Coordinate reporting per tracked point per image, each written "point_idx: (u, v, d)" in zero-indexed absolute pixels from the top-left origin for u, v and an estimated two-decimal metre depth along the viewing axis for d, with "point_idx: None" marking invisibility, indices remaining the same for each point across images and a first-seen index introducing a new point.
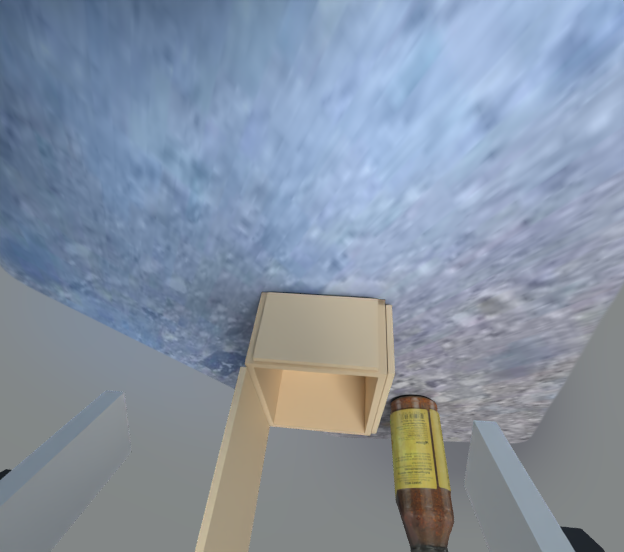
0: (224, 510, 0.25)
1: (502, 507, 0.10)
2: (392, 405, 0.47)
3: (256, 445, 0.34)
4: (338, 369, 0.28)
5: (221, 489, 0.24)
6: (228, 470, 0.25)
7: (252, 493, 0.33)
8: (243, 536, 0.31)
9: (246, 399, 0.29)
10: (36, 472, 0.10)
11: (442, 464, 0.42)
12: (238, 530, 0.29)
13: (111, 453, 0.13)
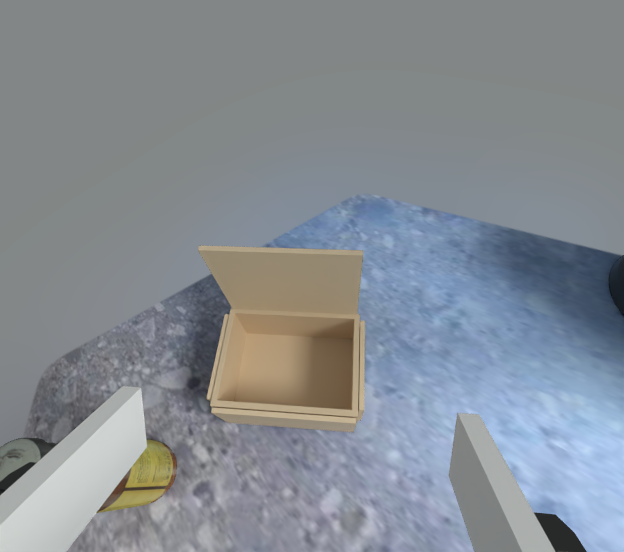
0: (330, 271, 0.33)
1: (481, 495, 0.11)
2: (163, 444, 0.41)
3: (270, 297, 0.39)
4: (358, 379, 0.38)
5: (352, 277, 0.34)
6: (344, 283, 0.35)
7: (243, 280, 0.36)
8: (240, 263, 0.33)
9: (338, 306, 0.40)
10: (61, 464, 0.10)
11: (128, 501, 0.33)
12: (267, 265, 0.33)
13: (128, 447, 0.14)
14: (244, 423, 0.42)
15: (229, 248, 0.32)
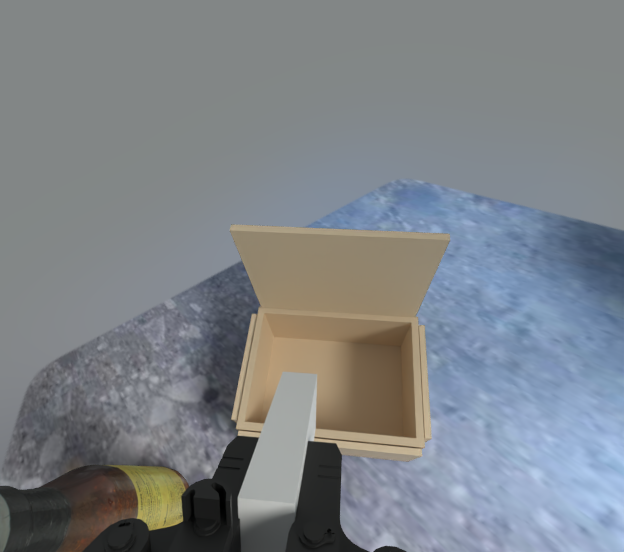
0: (398, 261, 0.26)
1: None
2: (175, 471, 0.34)
3: (311, 294, 0.32)
4: (421, 398, 0.30)
5: (425, 270, 0.26)
6: (412, 278, 0.28)
7: (282, 272, 0.29)
8: (282, 249, 0.26)
9: (394, 307, 0.32)
10: (282, 435, 0.12)
11: None
12: (317, 252, 0.26)
13: None
14: None
15: (270, 228, 0.24)
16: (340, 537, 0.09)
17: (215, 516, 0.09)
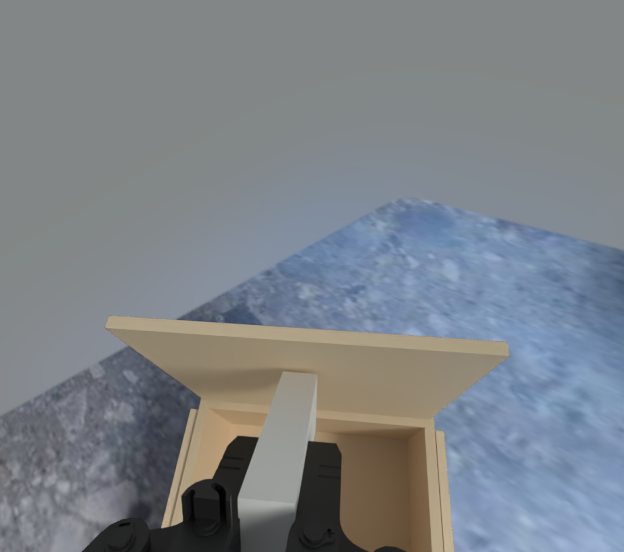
0: (410, 373, 0.15)
1: None
2: None
3: (273, 394, 0.21)
4: None
5: (455, 383, 0.15)
6: (430, 389, 0.17)
7: (218, 374, 0.18)
8: (208, 352, 0.15)
9: (400, 411, 0.21)
10: (282, 435, 0.12)
11: None
12: (269, 358, 0.15)
13: None
14: None
15: (178, 325, 0.13)
16: (340, 537, 0.09)
17: (215, 516, 0.09)
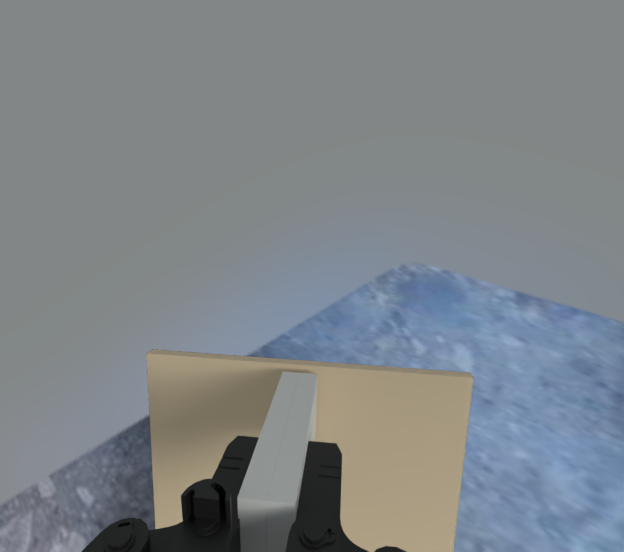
0: (400, 432, 0.16)
1: None
2: None
3: None
4: None
5: (446, 455, 0.16)
6: (426, 479, 0.16)
7: (210, 462, 0.17)
8: (218, 399, 0.17)
9: None
10: (282, 435, 0.12)
11: None
12: None
13: None
14: None
15: (207, 355, 0.17)
16: (340, 537, 0.09)
17: (214, 516, 0.09)
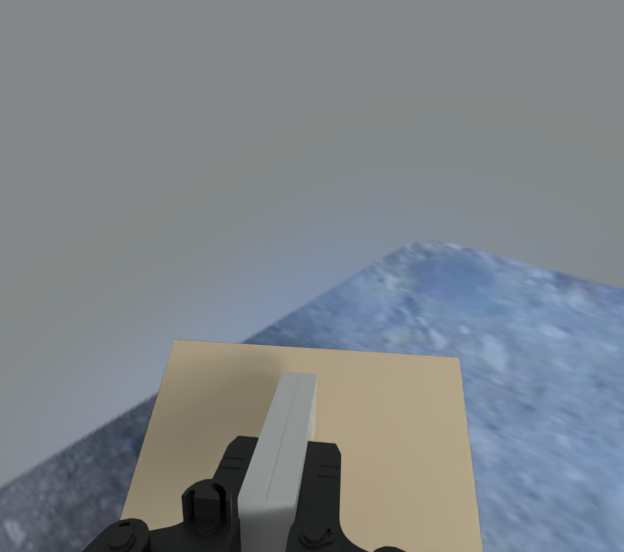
0: (402, 413, 0.16)
1: None
2: None
3: None
4: None
5: (451, 439, 0.16)
6: (436, 470, 0.15)
7: (203, 455, 0.16)
8: (228, 382, 0.18)
9: None
10: (282, 435, 0.12)
11: None
12: None
13: None
14: None
15: None
16: (340, 537, 0.09)
17: (215, 516, 0.09)
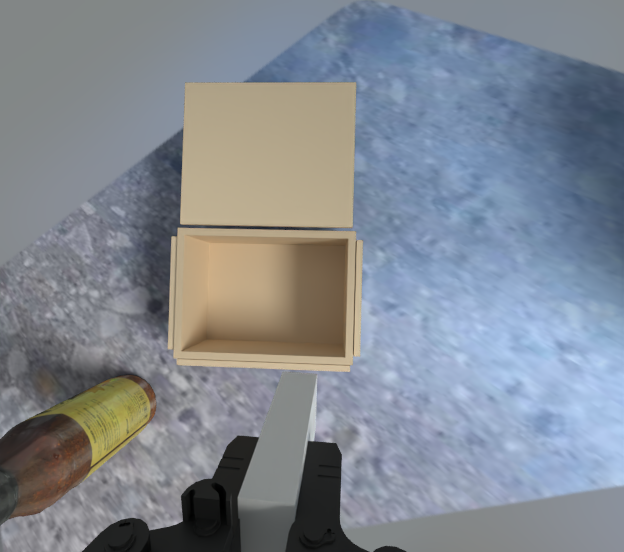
0: (321, 115, 0.30)
1: None
2: (134, 377, 0.37)
3: (241, 186, 0.30)
4: (353, 319, 0.30)
5: (345, 126, 0.30)
6: (336, 142, 0.30)
7: (216, 143, 0.30)
8: (223, 105, 0.31)
9: (327, 205, 0.30)
10: (282, 435, 0.12)
11: (103, 463, 0.30)
12: (253, 108, 0.30)
13: None
14: None
15: None
16: (340, 537, 0.09)
17: (215, 516, 0.09)
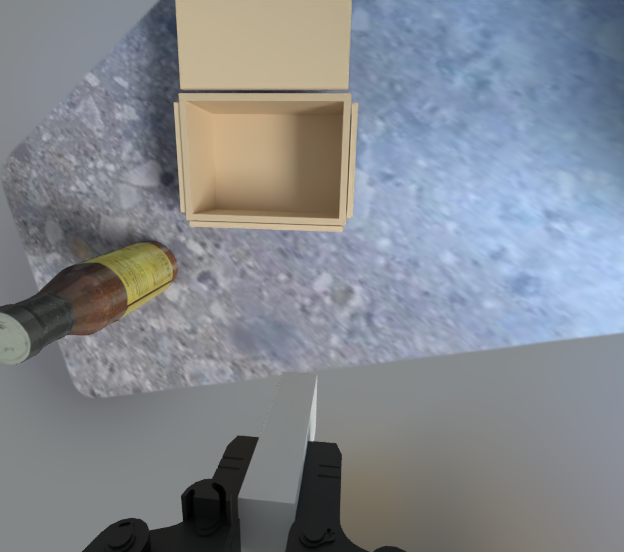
0: None
1: None
2: (156, 243, 0.42)
3: (236, 45, 0.30)
4: (347, 183, 0.32)
5: None
6: None
7: None
8: None
9: (323, 65, 0.30)
10: (282, 435, 0.12)
11: (137, 306, 0.36)
12: None
13: None
14: None
15: None
16: (340, 537, 0.09)
17: (215, 516, 0.09)
